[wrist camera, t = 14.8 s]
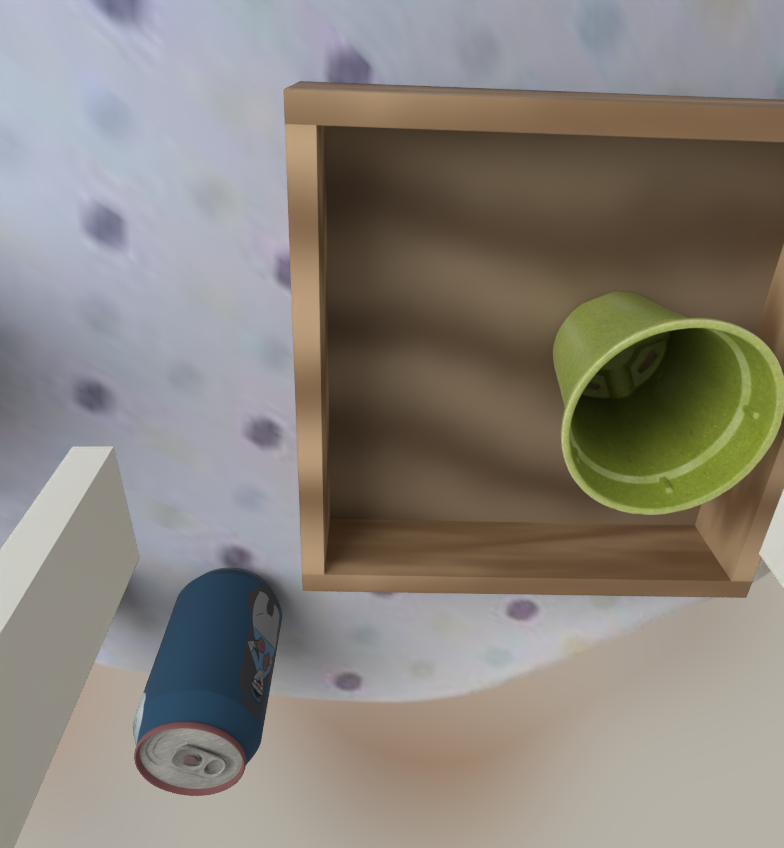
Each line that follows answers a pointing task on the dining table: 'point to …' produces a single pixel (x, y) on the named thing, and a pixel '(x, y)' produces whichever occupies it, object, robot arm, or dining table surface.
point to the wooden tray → (511, 326)
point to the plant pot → (662, 404)
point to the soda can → (209, 685)
